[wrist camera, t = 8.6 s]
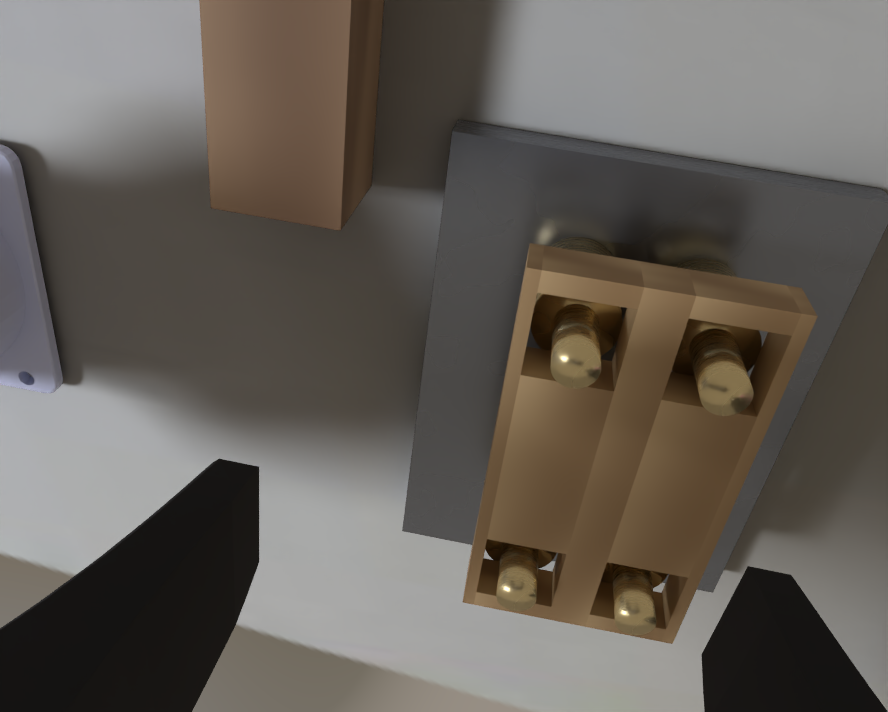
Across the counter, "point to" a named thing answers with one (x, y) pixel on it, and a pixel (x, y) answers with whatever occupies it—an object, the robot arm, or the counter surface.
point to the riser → (291, 106)
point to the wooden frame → (626, 437)
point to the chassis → (612, 308)
